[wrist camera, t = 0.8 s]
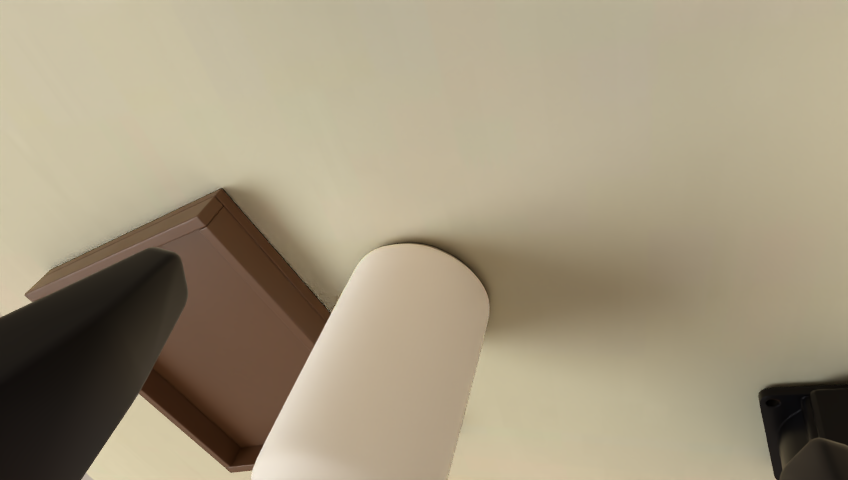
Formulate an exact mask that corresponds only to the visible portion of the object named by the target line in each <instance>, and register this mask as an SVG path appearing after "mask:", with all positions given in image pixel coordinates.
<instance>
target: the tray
mask: <svg viewBox="0 0 848 480" xmlns="http://www.w3.org/2000/svg"><path fill="white" fill-rule="evenodd" d="M150 247H158V248H162V249H165V250H169V251H172V252H175V253H177V254H178V255H179V256H180V257H181V259H182V263H183V268H184V273H185V278H186V282H187V287H188V298H187V302H186V305H185V307H184V309H183V311H182V313H181V315H180V317H179V319H178V321H177V322H176V324H175V326H174V328H173V330H172V332H171V334H170V336H169V338H168V340H167V342H166V343H165V345H164V347H163V349H162V351H161V353H160V355H159V357H158V359H157V361H156V363H155V364H154V366H153V368H152V370H151V372H150V374H149V376H148V378H147V380H146V381H145V383H144V385H143V387H142V388H141V390H140V392H139V394H140V395H141V396H142V397H143V398H145V399H146V400H147V401H148V402H149V403H150V404H152V405H153V406H154V407H155V408H156V409H157V410H159V411H160V412H161V413H162V414H163V415H164V416H166V417H167V418H168V419H169V420H170V421H171V422H173V423H174V424H175V425H176V426H177V427H178V428H180V429H181V430H182V431H183V432H184V433H185V434H187V435H188V436H189V437H190V438H191V439H192V440H194V441H195V442H196V443H197V444H198V445H199V446H201V447H202V448H203V449H204V450H205V451H206V452H207V453H209V454H210V455H211V456H212V457H213V458H214V459H216V460H217V461H218V462H219V463H220V464H221V465H223V466H224V467H225V468H226V469H227V470H228V471H229V472H231V473H232V472H242V471H251V470H253V467H254V465H255V462H256V460H257V457H258V455H259V453H260V451H261V449H262V447H263V445H264V443H265V441H266V439H267V437H268V435H269V433H270V431H271V429H272V427H273V425H274V423H275V421H276V419H277V417H278V415H279V414H280V412H281V410H282V408H283V406H284V404H285V402H286V400H287V398H288V396H289V394H290V392H291V390H292V388H293V386H294V384H295V382H296V380H297V379H298V377H299V375H300V373H301V371H302V369H303V367H304V365H305V363H306V361H307V359H308V357H309V355H310V353H311V351H312V350H313V348H314V346H315V344H316V342H317V340H318V338H319V336H320V334H321V332H322V330H323V328H324V326H325V324H326V323H327V321H328V319H329V317H330V315H331V314H330V313H329V312H328V310H327V309H326V308H325V307H324V306H323V305H322V303H321V302H320V301H319V300H318V299H317V298H316V297H315V295H314V294H313V293H312V292H311V291H310V290H309V288H308V287H307V286H306V285H305V284H304V283H303V282H302V280H301V279H300V278H299V277H298V276H297V275H296V273H295V272H294V271H293V270H292V269H291V268H290V267H289V265H288V264H287V263H286V262H285V261H284V260H283V258H282V257H281V256H280V255H279V254H278V253H277V252H276V250H275V249H274V248H273V247H272V246H271V245H270V243H269V242H268V241H267V240H266V239H265V238H264V237H263V235H262V234H261V233H260V232H259V231H258V230H257V228H256V227H255V226H254V225H253V224H252V223H251V222H250V220H249V219H248V218H247V217H246V216H245V215H244V213H243V212H242V211H241V210H240V209H239V208H238V207H237V205H236V204H235V203H234V202H233V201H232V200H231V198H230V197H229V196H228V195H227V194H226V193H225V192H224V190H223V189H219V190H217V191H215V192H213V193H210V194H208V195H206V196H204V197H202V198H200V199H198V200H196V201H194V202H192V203H190V204H187V205H185V206H183V207H181V208H179V209H177V210H175V211H173V212H171V213H169V214H166V215H164V216H162V217H160V218H158V219H156V220H154V221H152V222H150V223H148V224H146V225H143V226H141V227H139V228H137V229H135V230H133V231H131V232H129V233H127V234H125V235H123V236H120V237H118V238H116V239H114V240H112V241H110V242H108V243H106V244H104V245H102V246H99V247H97V248H95V249H93V250H91V251H89V252H87V253H85V254H83V255H81V256H79V257H76V258H74V259H72V260H70V261H68V262H66V263H64V264H62V265H60V266H58V267H55V268H53V269H51V270H50V271H49V272H48V273H46V274H45V275H44V277H42V278H41V279H40V280H39V281H38V282H37V283H36V284H35V285H34V286H33V287H32V288H31V289H30V290H29V291H28V292H27V293H25V296H26V297H27V298H28V299H29V300H31V301H32V302H35V301H37V300H39V299H41V298H43V297H45V296H47V295H49V294H51V293H54V292H56V291H58V290H60V289H62V288H64V287H66V286H68V285H71V284H73V283H75V282H77V281H79V280H81V279H83V278H85V277H87V276H90V275H92V274H94V273H96V272H98V271H100V270H102V269H104V268H106V267H109V266H111V265H113V264H115V263H117V262H119V261H121V260H123V259H126V258H128V257H130V256H132V255H134V254H136V253H138V252H140V251H142V250H145V249H147V248H150Z"/></svg>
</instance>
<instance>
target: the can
mask: <svg viewBox="0 0 848 480" xmlns="http://www.w3.org/2000/svg"><path fill="white" fill-rule="evenodd" d="M489 312H490V305H489V299H488V296H487V293H486V291H485V288H484V287H483V285H482V283H481V282H480V280H479V279H478V278H477V277H476V275H475V274H474V273H473V272H472V271H471V270H470V269H469V268H468V267H467V266H466V265H465V264H464V263H463V262H461V261H460V260H458V259H457V258H455V257H454V256H452V255H450V254H449V253H447V252H445V251H442V250H440V249H438V248H435V247H433V246H429V245H425V244H418V243H403V244H394V245H388V246H383V247H380V248H377V249H375V250H373V251H371V252H369V253H368V254H367V255H365V256H364V257H363V258H362V259H361V260H360V262H359V263H358V265H357V266H356V268H355V270H354V271H353V273H352V275H351V277H350V279H349V281H348V283H347V284H346V286H345V288H344V290H343V292H342V294H341V296H340V298H339V300H338V301H337V303H336V305H335V307H334V309H333V311H332V313H331V315H330V317H329V319H328V321H327V323H326V324H325V326H324V328H323V330H322V332H321V334H320V336H319V338H318V340H317V342H316V344H315V346H314V348H313V350H312V351H311V353H310V355H309V357H308V359H307V361H306V363H305V365H304V367H303V369H302V371H301V373H300V375H299V377H298V379H297V380H296V382H295V384H294V386H293V388H292V390H291V392H290V394H289V396H288V398H287V400H286V402H285V404H284V406H283V408H282V410H281V412H280V414H279V415H278V417H277V419H276V421H275V423H274V425H273V427H272V429H271V431H270V433H269V435H268V437H267V439H266V441H265V443H264V445H263V447H262V449H261V451H260V453H259V455H258V457H257V460H256V462H255V465H254V467H253V470H252V475H251V480H447V479H448V475H449V471H450V468H451V464H452V460H453V456H454V452H455V449H456V445H457V441H458V437H459V433H460V429H461V426H462V422H463V418H464V414H465V410H466V406H467V402H468V399H469V395H470V391H471V387H472V383H473V379H474V375H475V371H476V367H477V363H478V360H479V356H480V352H481V348H482V344H483V340H484V336H485V332H486V328H487V323H488V319H489Z"/></svg>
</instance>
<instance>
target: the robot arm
mask: <svg viewBox="0 0 848 480" xmlns="http://www.w3.org/2000/svg"><path fill="white" fill-rule="evenodd" d="M187 298H188V287H187V282H186V278H185V273H184V268H183V263H182V259H181V257H180V256H179V255H178V254H177V253H175V252H172V251H169V250H165V249H162V248H158V247H150V248H147V249H145V250H142V251H140V252H138V253H136V254H134V255H132V256H130V257H128V258H126V259H123V260H121V261H119V262H117V263H115V264H113V265H111V266H109V267H106V268H104V269H102V270H100V271H98V272H96V273H94V274H92V275H90V276H87V277H85V278H83V279H81V280H79V281H77V282H75V283H73V284H71V285H68V286H66V287H64V288H62V289H60V290H58V291H56V292H54V293H51V294H49V295H47V296H45V297H43V298H41V299H39V300H37V301H35V302H32V303H30V304H28V305H26V306H24V307H22V308H20V309H18V310H16V311H13V312H11V313H9V314H7V315H5V316H3V317H1V318H0V480H81V479H82V478H83V476H84V474H85V473H86V472H87V470H88V469H89V467H90V466H91V464H92V463H93V461H94V460H95V458H96V457H97V455H98V454H99V452H100V451H101V449H102V448H103V446H104V445H105V443H106V442H107V440H108V439H109V437H110V436H111V434H112V433H113V431H114V430H115V428H116V427H117V425H118V424H119V423H120V421H121V420H122V418H123V417H124V415H125V414H126V412H127V411H128V409H129V408H130V406H131V405H132V403H133V401H134V400H135V398H136V397H137V395H138V394H139V392H140V390H141V388H142V387H143V385H144V383H145V381H146V380H147V378H148V376H149V374H150V372H151V370H152V368H153V366H154V364H155V363H156V361H157V359H158V357H159V355H160V353H161V351H162V349H163V347H164V345H165V343H166V342H167V340H168V338H169V336H170V334H171V332H172V330H173V328H174V326H175V324H176V322H177V321H178V319H179V317H180V315H181V313H182V311H183V309H184V307H185V305H186V302H187ZM759 403H760V408H761V413H762V418H763V422H764V427H765V432H766V437H767V442H768V447H769V452H770V457H771V461H772V466H773V471H774V476H775V478H776V479H777V480H848V384H845V385H823V386H802V387H780V388H767V389H764V390H761V391H760V392H759Z"/></svg>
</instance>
